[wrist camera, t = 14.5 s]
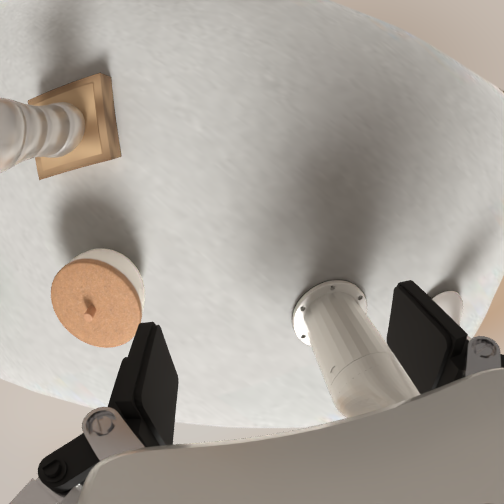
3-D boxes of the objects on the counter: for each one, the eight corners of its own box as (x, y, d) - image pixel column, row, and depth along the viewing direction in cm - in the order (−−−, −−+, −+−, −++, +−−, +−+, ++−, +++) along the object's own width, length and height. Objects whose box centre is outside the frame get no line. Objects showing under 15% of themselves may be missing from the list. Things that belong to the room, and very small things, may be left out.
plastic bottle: (39, 122, 29) (-78, 138, 10) (80, 92, 28) (-34, 78, 10) (57, 165, 31) (-55, 209, 13) (99, 136, 31) (-11, 156, 13)
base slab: (121, 156, 36) (111, 159, 32) (53, 174, 35) (38, 180, 32) (110, 77, 32) (99, 72, 28) (42, 101, 31) (27, 100, 27)
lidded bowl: (145, 231, 40) (123, 266, 30) (160, 310, 45) (147, 358, 35) (67, 239, 39) (31, 272, 29) (88, 312, 44) (63, 355, 34)
